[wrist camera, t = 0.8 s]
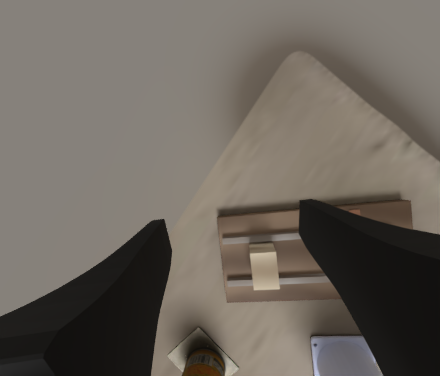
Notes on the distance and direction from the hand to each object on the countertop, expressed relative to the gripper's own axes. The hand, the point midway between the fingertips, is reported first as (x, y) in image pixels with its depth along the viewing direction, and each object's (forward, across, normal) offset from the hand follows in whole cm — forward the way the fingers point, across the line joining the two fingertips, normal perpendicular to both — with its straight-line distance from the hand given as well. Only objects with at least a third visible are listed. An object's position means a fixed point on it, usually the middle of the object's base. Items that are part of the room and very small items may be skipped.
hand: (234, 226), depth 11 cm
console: (+13, -11, +14) cm, 22 cm away
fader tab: (+12, -4, +14) cm, 19 cm away
